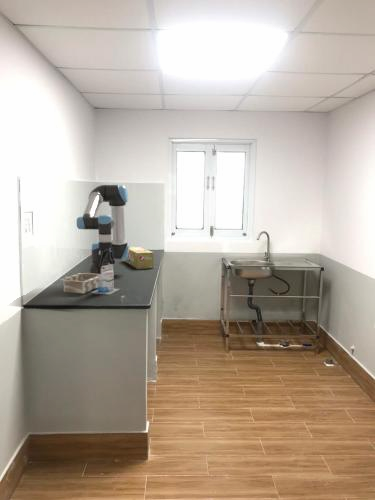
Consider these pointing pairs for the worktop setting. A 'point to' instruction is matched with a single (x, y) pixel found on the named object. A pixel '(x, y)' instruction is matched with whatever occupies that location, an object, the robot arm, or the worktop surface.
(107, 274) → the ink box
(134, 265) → the soda box
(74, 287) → the beige storage basket
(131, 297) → the worktop surface
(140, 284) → the worktop surface
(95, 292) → the mat
